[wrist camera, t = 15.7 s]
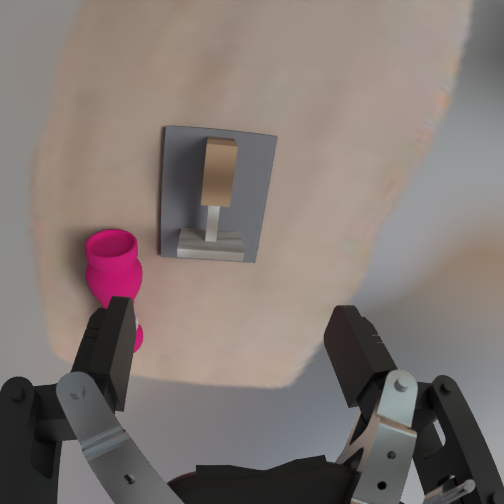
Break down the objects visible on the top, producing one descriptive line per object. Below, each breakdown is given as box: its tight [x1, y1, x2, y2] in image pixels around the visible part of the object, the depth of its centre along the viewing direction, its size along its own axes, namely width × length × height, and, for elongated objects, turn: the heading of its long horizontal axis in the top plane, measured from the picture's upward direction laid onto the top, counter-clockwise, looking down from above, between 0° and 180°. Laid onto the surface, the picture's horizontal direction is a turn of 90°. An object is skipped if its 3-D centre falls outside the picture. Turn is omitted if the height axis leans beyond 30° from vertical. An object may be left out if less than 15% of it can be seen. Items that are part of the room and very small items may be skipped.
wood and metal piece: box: [177, 136, 244, 261], centre depth 31 cm, size 12×7×5 cm, turn 171°
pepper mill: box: [85, 229, 143, 352], centre depth 36 cm, size 7×7×20 cm
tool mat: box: [161, 126, 277, 263], centre depth 34 cm, size 16×12×1 cm
